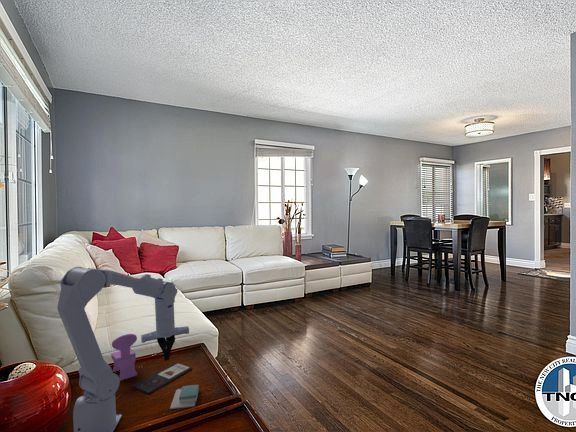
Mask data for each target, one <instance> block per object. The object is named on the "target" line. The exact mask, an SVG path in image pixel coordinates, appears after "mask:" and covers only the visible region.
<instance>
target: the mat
mask: <svg viewBox="0 0 576 432" xmlns="http://www.w3.org/2000/svg"><path fill="white" fill-rule="evenodd" d="M181 389H182V388H177V389H176V390H175V393H174V396H173V399H172V401H171V404H170V408H169V410H176V409H177V410H178V409H185V408H193V407H195V406H196V402H197V401H192V402H183V403H179V396H180V393H181Z"/></svg>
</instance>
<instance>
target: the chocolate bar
mask: <svg viewBox="0 0 576 432" xmlns="http://www.w3.org/2000/svg"><path fill="white" fill-rule="evenodd" d="M191 371H193V368H192V367H190V366H187V365H184V364H181V363H177V362H175V363H174V362H173V364H170V365H169V366H167V367H164V368H163V369H161V370H159V371H156V372H155V373H153V374H152V375H149V376H147V377H146V378H143V379H142V380H141V379H140V381H137V382H135V383H134V384H131V388H133V389H134V390H137V391H140V392H142V393H144V394H146V395H148V396H149V395H151V394H153V393H154V392H155V391H157V390H160V389H161V388H163V387H165V386H166V385H168V384H170V383H171V382H174V381H175V380H177V379H179V378H180V377H182V376H183V375H185V374H188V373H189V372H191Z"/></svg>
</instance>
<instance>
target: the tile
mask: <svg viewBox="0 0 576 432" xmlns="http://www.w3.org/2000/svg"><path fill="white" fill-rule="evenodd" d="M199 387H200V385H199V384H192V385H191V384H190V385H183V386H182V387H181V388H180V389H181V393H180V396H179V403H183V402H192V401H196V402H197V399H198V395H199V390H200V388H199Z"/></svg>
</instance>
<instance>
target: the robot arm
mask: <svg viewBox="0 0 576 432" xmlns="http://www.w3.org/2000/svg"><path fill="white" fill-rule="evenodd" d="M151 276H152V275H151V274H148V273H147V274H146V273H145V274H144V275H143V274H141V275H138V276H137V277H134V276H131V275H129V274H124V273H121V272H118V271H113V270H111V269H110V270H109V269H102V268H94V267H93V268H91V267H87V268H86V267H82V266H74V267H72V268H70V269H68V270H67V272H66V273H65V274H64V275H63V277H62V278H61V280H60V281H59V285H60V292H59V296H58V302H57V313H58V315H59V316H60V319H61V321H62V324H63V327H64V329H65V331H66V334H67V336H68V339H69V341H70V344H71V346H72V348H73V351H74V354H75V355H76V359H77V361H78V364H79V366H80V368H79V369H78V373H79V381H78V384H79V387H80V389H81V390H83V391H84V395H81V396H79V397H78V398H77V399H76V401H75V404H74V405H73V411H72V412H73V413H72V416H73V417H72V419H73V421H72V422H73V432H114V431H115V430H116V427H117V425H118V424H119V422H120V420H121V418H122V416H123V415H122V414H117V408H116V407H117V405H116V392H117V391H118V389H119V387H120V384H121V383H120V382H121V381H120V379H119V377H120V376H119V375H118V374H116V372H115V373H113V369H112V367H111V366H110V365H109V363H107V361H106V360H105V359H104V356H103V354H102V351H101V349H100V346H99V344H98V341H97V339H96V336H95V333H94V331H93V328H92V325H91V322H90V319H89V317H88V315H87V312H86V310H85V309H86V306H87V305H88V304H89V302H90V301H91V300H92V299H94V298H95V296H97V294H99V292H101V291H102V290H103V288H109V286H111V285H115V286H120V287H124V288H130V289H132V291H133V292H134V293H133V294H136V295H139V296H145V297H149V298H153V299H154V309H155V310H154V312H155V331H152V332H151V331H150V332H148V333H145V334H140V338H141V340H140V342H141V344H144V343H146V342H149V341H156V342H157V344H158V346H159V347H160V349H161V352H162V355H163V359H164V362H167V361H169V360H170V356H171V352H172V349H173V346H174V344H175V342H176V336H179V335H185V334H186V335H189V334H190V327H189V325H188V326H177V327H176V323H175V321H176V320H175V301H176V300H175V299H176V296H177V294H178V288H177V287H176V285H175V283H174V282H170V281H165V280H164V279H163V278H161V277H158V278H155V277H154V278H153V277H151Z"/></svg>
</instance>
